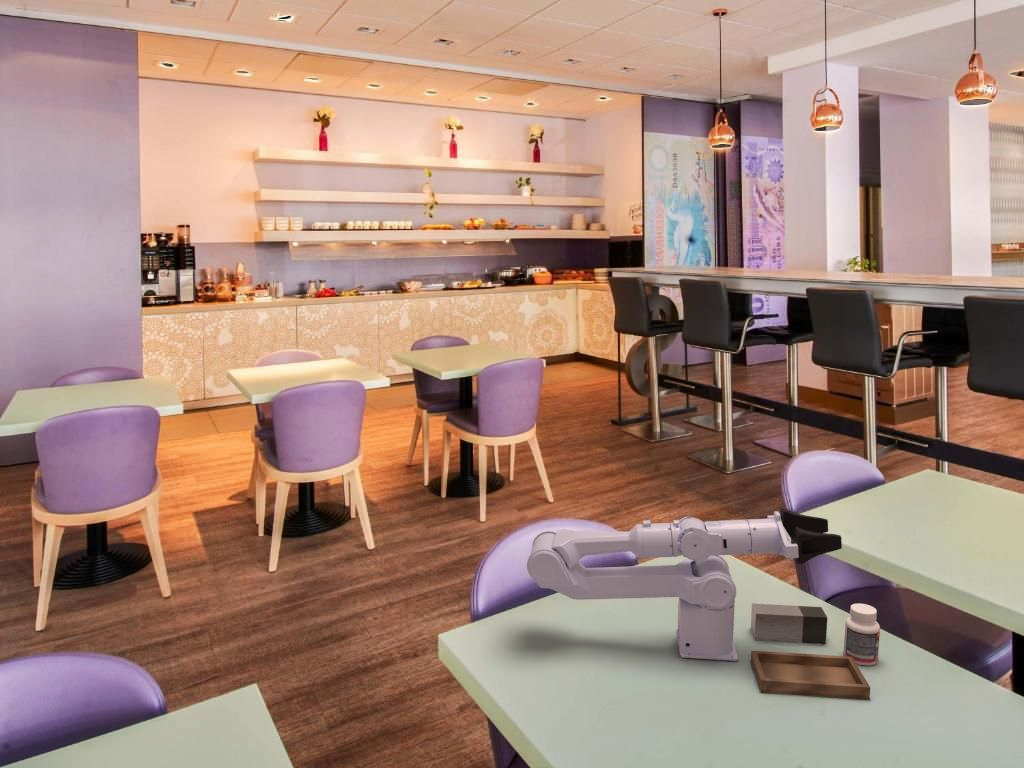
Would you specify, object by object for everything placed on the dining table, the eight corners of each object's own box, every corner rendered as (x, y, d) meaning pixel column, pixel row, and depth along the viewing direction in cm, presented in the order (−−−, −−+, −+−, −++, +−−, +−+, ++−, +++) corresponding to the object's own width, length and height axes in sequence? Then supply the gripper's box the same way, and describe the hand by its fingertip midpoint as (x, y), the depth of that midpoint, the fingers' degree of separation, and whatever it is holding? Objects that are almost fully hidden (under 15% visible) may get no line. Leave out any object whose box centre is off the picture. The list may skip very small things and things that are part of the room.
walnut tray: (760, 692, 114) (761, 680, 114) (750, 661, 123) (750, 650, 123) (869, 699, 112) (870, 687, 112) (851, 667, 121) (852, 656, 120)
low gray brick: (754, 640, 130) (755, 613, 129) (750, 629, 134) (751, 603, 133) (825, 644, 128) (827, 617, 127) (819, 633, 132) (821, 607, 131)
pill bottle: (881, 668, 121) (885, 617, 119) (847, 665, 122) (851, 614, 120) (872, 651, 126) (876, 602, 124) (840, 648, 127) (843, 600, 125)
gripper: (755, 529, 115) (846, 525, 113) (740, 500, 130) (821, 496, 128) (757, 571, 116) (848, 568, 114) (742, 538, 131) (822, 535, 129)
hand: (834, 533), depth 121 cm, fingers open, 7 cm apart
